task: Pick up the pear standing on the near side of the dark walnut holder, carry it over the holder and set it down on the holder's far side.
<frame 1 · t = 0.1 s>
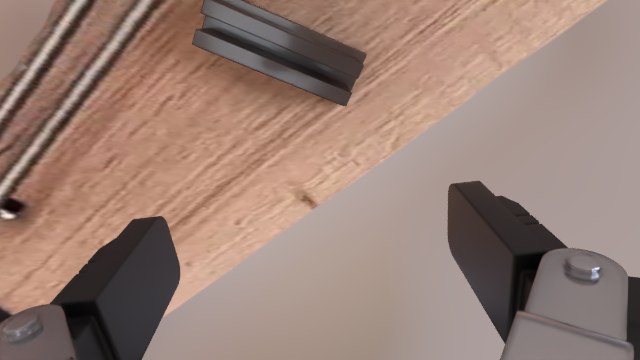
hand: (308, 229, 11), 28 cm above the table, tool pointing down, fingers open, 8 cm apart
holder: (283, 49, 36), on the table
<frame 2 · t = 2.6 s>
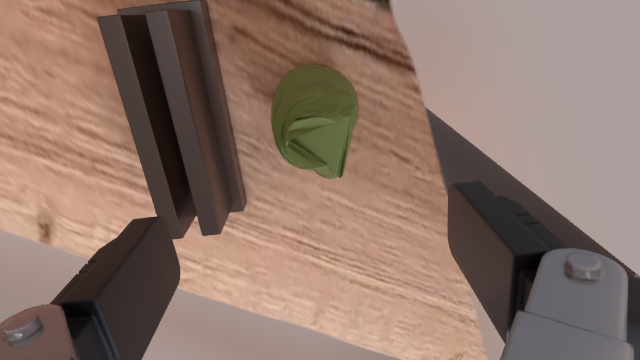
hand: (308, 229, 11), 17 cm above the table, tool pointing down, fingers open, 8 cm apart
pear: (315, 100, 27), on the table
holder: (193, 115, 27), on the table
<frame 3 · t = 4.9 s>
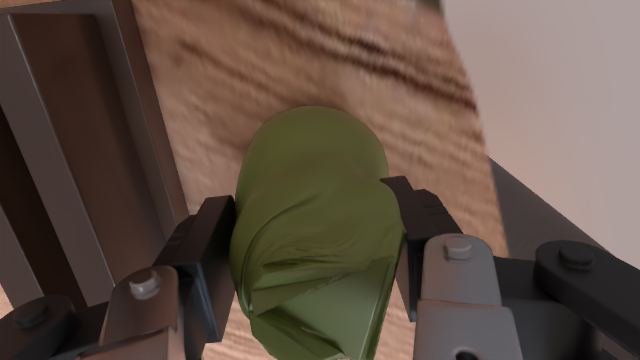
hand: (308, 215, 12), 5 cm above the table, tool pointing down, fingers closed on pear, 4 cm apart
pear: (315, 155, 17), on the table, touching gripper
holder: (121, 179, 17), on the table
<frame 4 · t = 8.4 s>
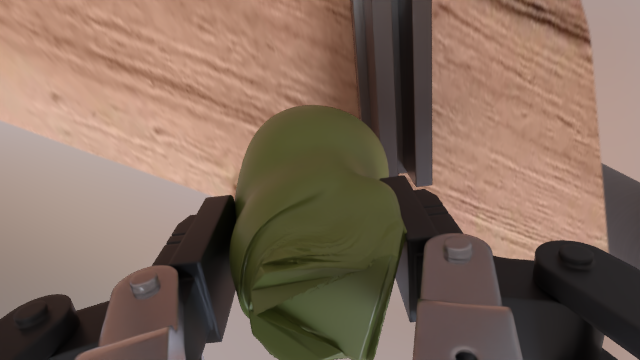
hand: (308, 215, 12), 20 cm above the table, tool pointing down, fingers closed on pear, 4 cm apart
pear: (315, 154, 17), point 15 cm above the table, touching gripper
holder: (389, 84, 30), on the table
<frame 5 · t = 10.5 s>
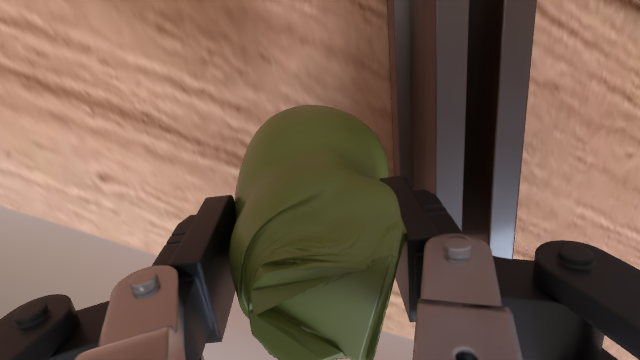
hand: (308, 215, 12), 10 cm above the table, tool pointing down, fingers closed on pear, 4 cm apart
pear: (315, 154, 17), point 4 cm above the table, touching gripper
holder: (438, 111, 21), on the table
when the fingers open (5 cm above the table, at t = 12.2 s): pear stays where it is, on the table.
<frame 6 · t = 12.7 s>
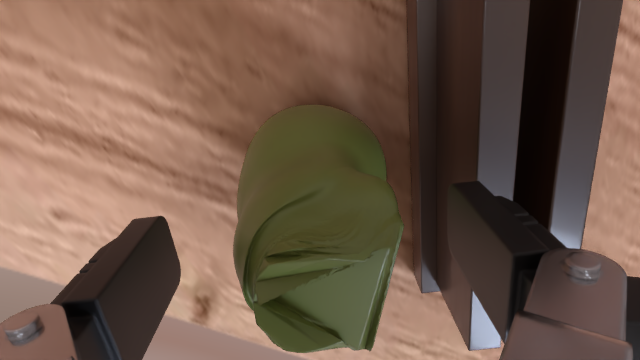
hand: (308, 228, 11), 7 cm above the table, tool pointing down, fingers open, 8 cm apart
pear: (314, 153, 17), on the table
holder: (467, 135, 17), on the table
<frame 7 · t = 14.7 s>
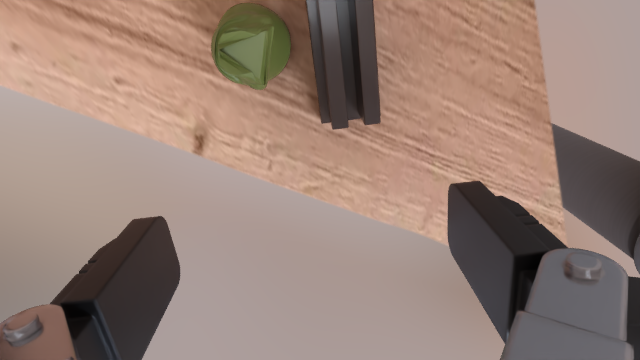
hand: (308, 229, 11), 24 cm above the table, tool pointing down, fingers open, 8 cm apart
pear: (258, 42, 32), on the table
holder: (341, 30, 32), on the table
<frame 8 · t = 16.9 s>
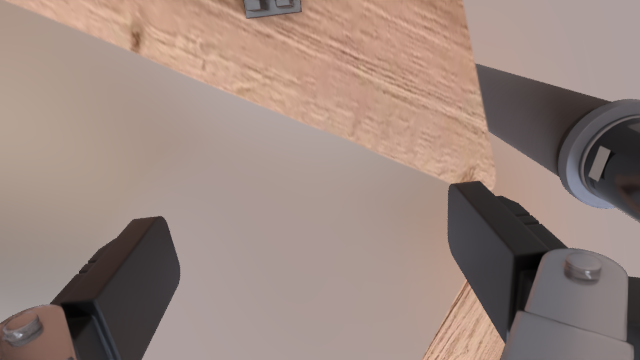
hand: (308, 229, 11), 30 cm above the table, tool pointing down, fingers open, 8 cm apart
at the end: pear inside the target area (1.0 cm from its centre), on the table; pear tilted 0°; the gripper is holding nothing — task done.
